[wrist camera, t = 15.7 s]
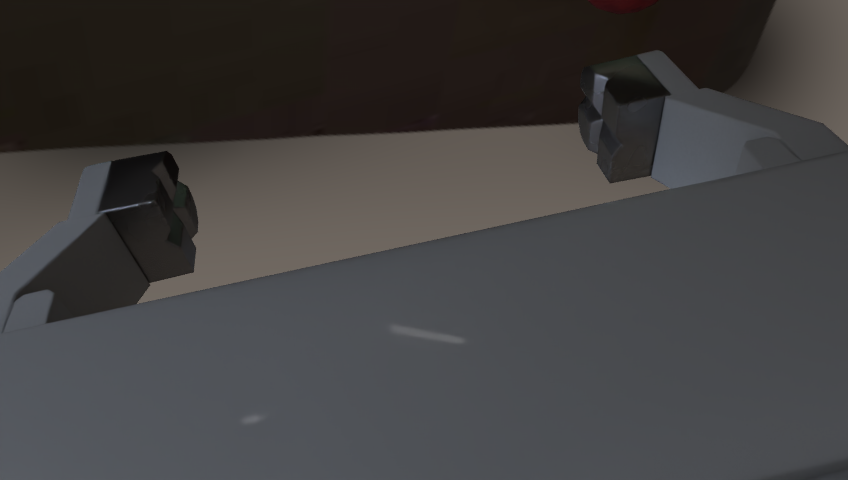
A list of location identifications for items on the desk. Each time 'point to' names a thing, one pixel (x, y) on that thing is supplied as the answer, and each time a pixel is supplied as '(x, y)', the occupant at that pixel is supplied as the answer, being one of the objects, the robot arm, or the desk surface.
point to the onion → (622, 5)
